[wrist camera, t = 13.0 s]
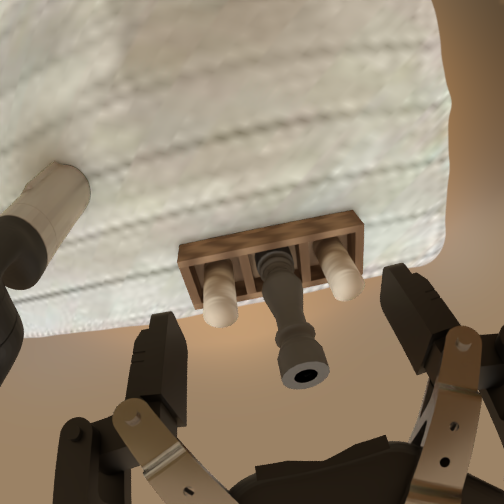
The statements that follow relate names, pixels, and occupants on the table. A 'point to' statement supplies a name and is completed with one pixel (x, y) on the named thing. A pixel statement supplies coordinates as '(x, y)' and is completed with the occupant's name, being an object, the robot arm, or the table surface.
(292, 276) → the candle holder
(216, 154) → the table surface
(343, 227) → the wooden candle tray
